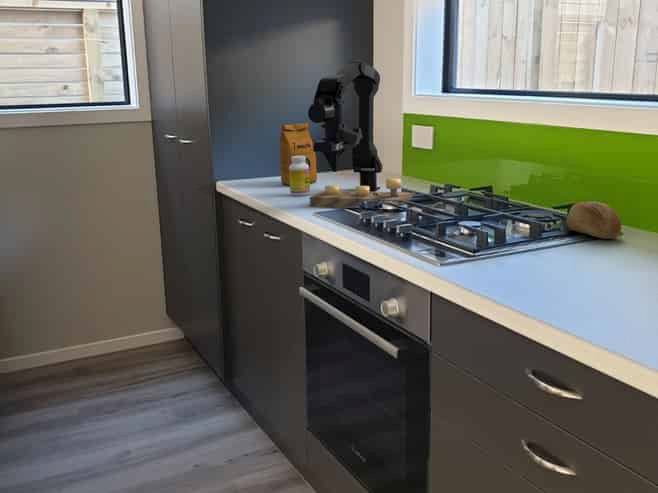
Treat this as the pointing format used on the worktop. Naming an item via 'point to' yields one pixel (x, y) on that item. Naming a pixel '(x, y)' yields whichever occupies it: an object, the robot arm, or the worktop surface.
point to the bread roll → (594, 220)
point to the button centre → (362, 190)
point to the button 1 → (332, 189)
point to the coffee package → (296, 150)
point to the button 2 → (393, 186)
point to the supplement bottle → (299, 177)
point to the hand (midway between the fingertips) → (335, 171)
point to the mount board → (354, 198)
